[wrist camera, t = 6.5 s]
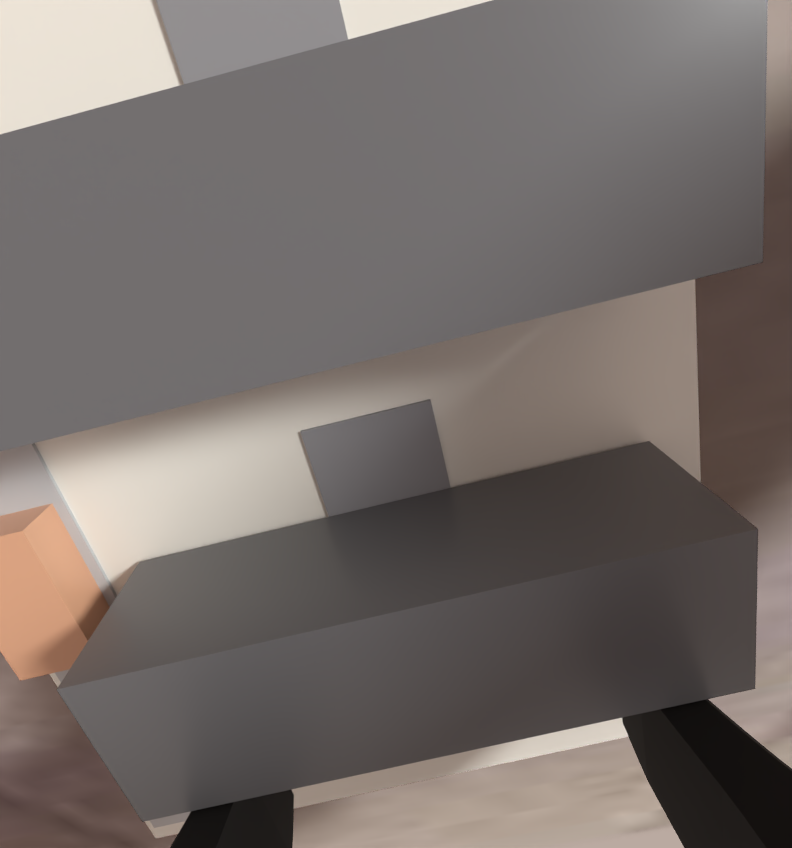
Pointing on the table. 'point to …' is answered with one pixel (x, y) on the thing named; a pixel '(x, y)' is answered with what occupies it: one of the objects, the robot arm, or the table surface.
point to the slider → (419, 631)
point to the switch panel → (300, 380)
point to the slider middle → (374, 201)
